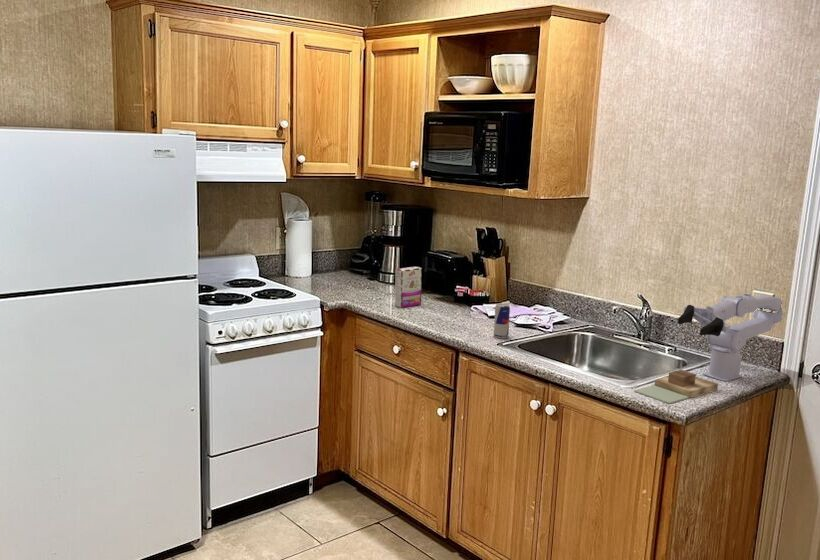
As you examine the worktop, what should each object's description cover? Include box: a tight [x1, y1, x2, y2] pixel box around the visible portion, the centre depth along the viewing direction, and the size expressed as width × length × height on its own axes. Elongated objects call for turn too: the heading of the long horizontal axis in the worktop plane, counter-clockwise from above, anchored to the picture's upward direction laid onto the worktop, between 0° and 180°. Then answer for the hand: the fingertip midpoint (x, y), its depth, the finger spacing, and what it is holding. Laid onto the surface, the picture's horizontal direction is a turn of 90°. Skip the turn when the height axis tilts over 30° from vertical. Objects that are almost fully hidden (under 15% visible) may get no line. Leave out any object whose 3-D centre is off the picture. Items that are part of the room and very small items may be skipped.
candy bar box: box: [394, 266, 423, 309], centre depth 319 cm, size 11×5×16 cm, turn 129°
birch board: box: [654, 375, 719, 399], centre depth 224 cm, size 14×12×2 cm
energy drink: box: [493, 303, 511, 340], centre depth 274 cm, size 5×5×12 cm
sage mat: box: [633, 384, 690, 405], centre depth 217 cm, size 9×12×1 cm
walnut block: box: [667, 369, 697, 387], centre depth 222 cm, size 6×5×3 cm
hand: (690, 326), depth 221 cm, fingers open, 7 cm apart
